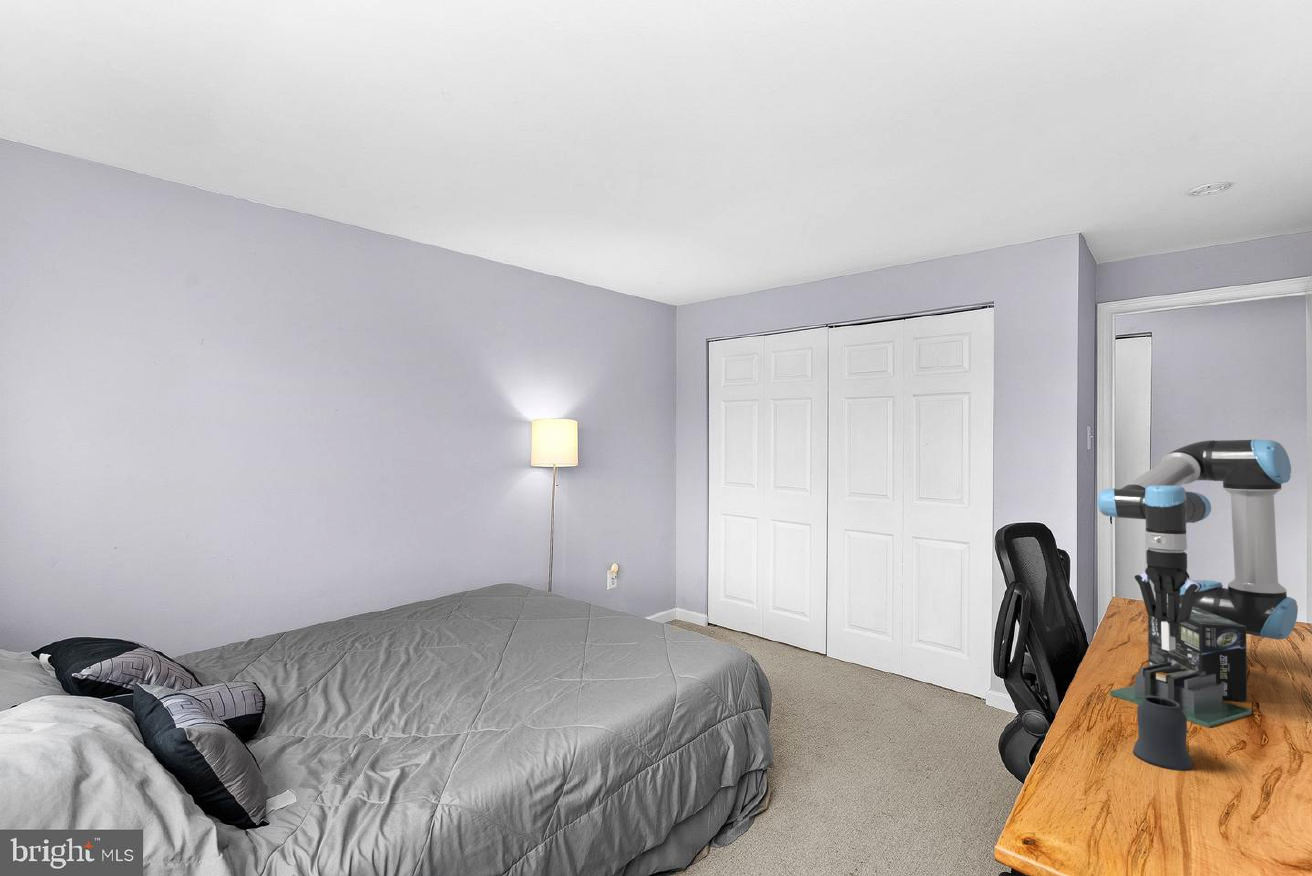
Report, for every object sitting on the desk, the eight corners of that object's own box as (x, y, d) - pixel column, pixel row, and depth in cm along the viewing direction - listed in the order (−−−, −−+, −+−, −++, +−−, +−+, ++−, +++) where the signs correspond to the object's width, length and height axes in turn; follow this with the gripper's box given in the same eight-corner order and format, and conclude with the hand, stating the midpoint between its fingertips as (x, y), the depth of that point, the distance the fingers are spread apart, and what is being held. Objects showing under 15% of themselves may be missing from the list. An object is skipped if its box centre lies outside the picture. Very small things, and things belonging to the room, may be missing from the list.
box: (1249, 703, 149) (1248, 624, 150) (1201, 699, 151) (1200, 622, 152) (1187, 671, 172) (1186, 602, 172) (1147, 668, 174) (1146, 600, 174)
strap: (1190, 672, 153) (1190, 666, 153) (1204, 676, 150) (1204, 669, 150) (1154, 678, 146) (1154, 672, 146) (1167, 682, 144) (1167, 676, 144)
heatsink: (1152, 684, 161) (1152, 653, 161) (1251, 714, 142) (1250, 679, 143) (1110, 694, 153) (1109, 662, 154) (1208, 727, 135) (1208, 690, 135)
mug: (1195, 775, 114) (1194, 714, 114) (1133, 760, 120) (1132, 702, 120) (1189, 751, 124) (1188, 695, 124) (1132, 738, 129) (1131, 684, 130)
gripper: (1126, 547, 152) (1129, 643, 151) (1190, 555, 140) (1192, 659, 139) (1144, 545, 155) (1146, 639, 154) (1208, 552, 143) (1210, 655, 142)
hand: (1168, 648), depth 147 cm, fingers closed
